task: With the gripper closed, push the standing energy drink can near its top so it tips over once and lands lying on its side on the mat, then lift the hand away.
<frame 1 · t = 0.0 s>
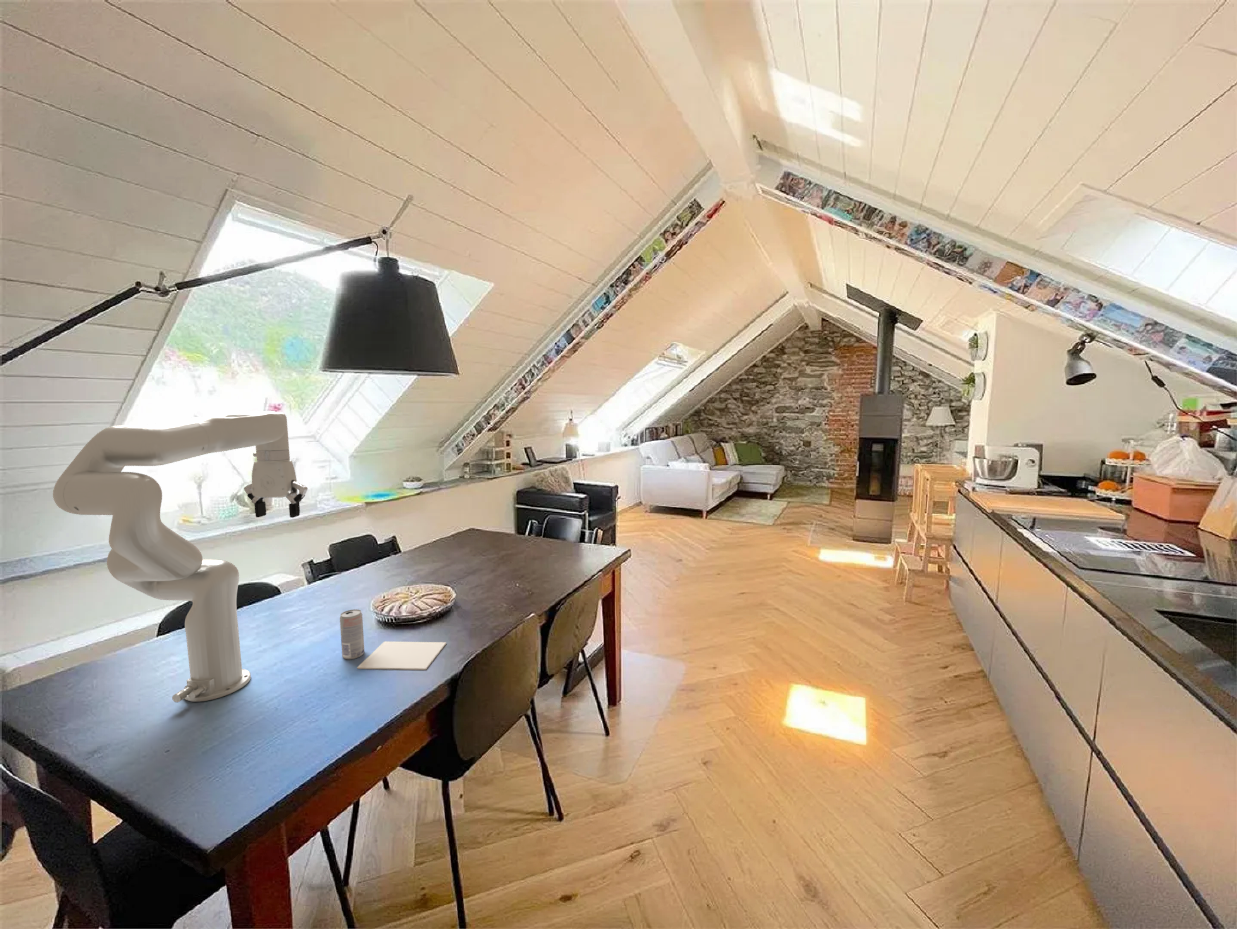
hand: (278, 516, 136), 37 cm above the table, tool pointing down, fingers open, 9 cm apart
energy drink: (353, 655, 132), on the table
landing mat: (404, 655, 132), on the table
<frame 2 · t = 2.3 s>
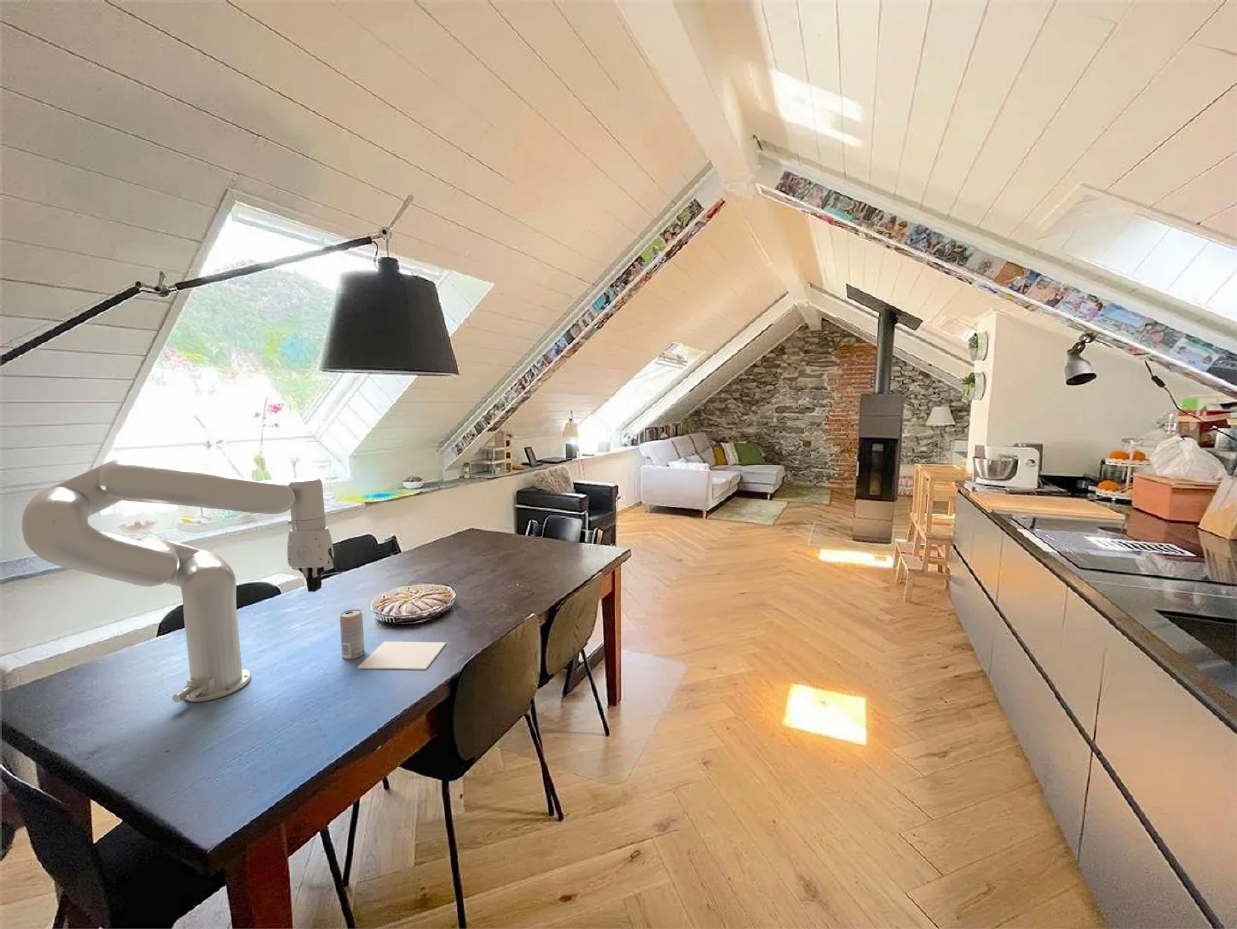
hand: (314, 589, 130), 18 cm above the table, tool pointing down, fingers closed
nothing on the table moved.
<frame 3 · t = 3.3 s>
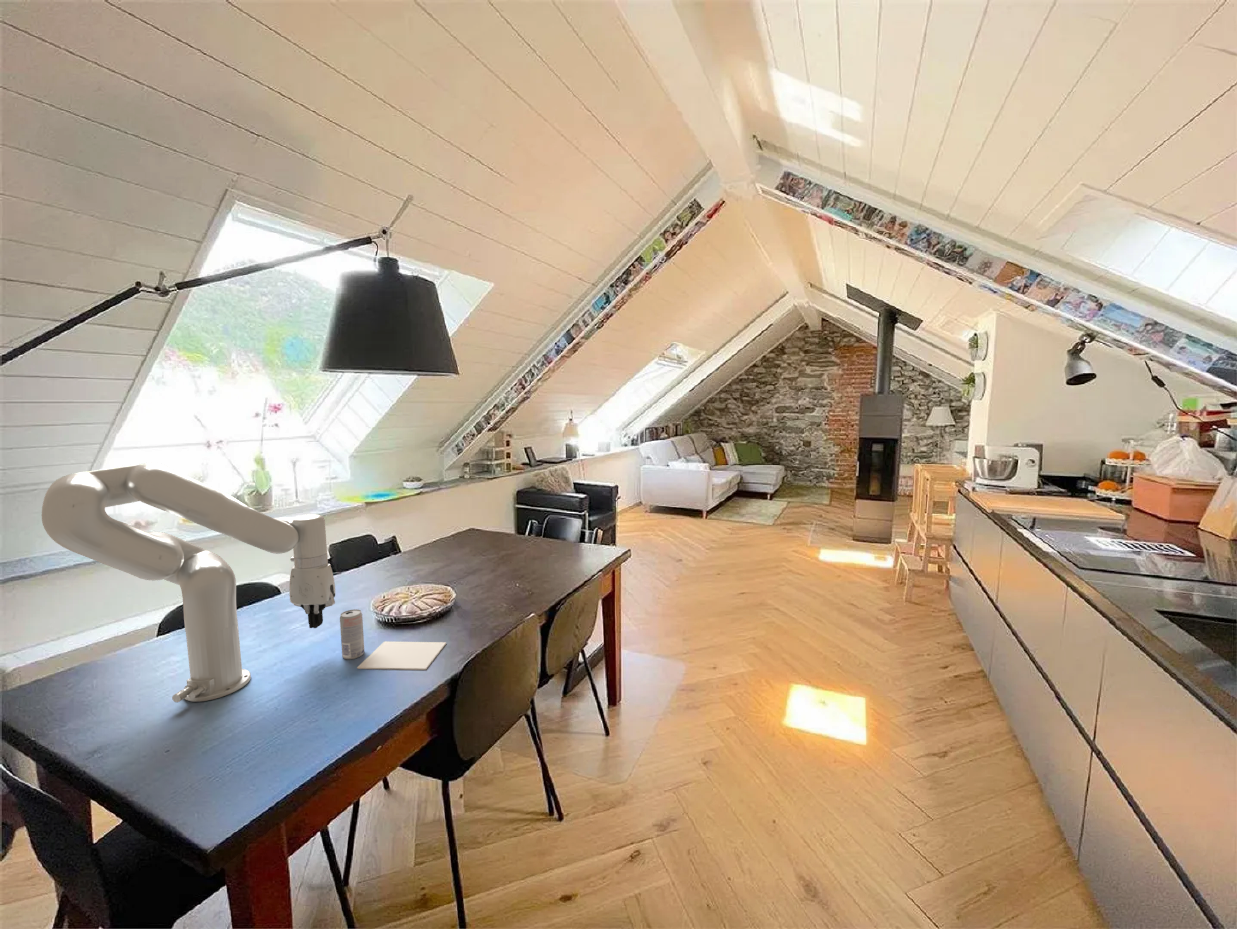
hand: (316, 625, 131), 8 cm above the table, tool pointing down, fingers closed
nothing on the table moved.
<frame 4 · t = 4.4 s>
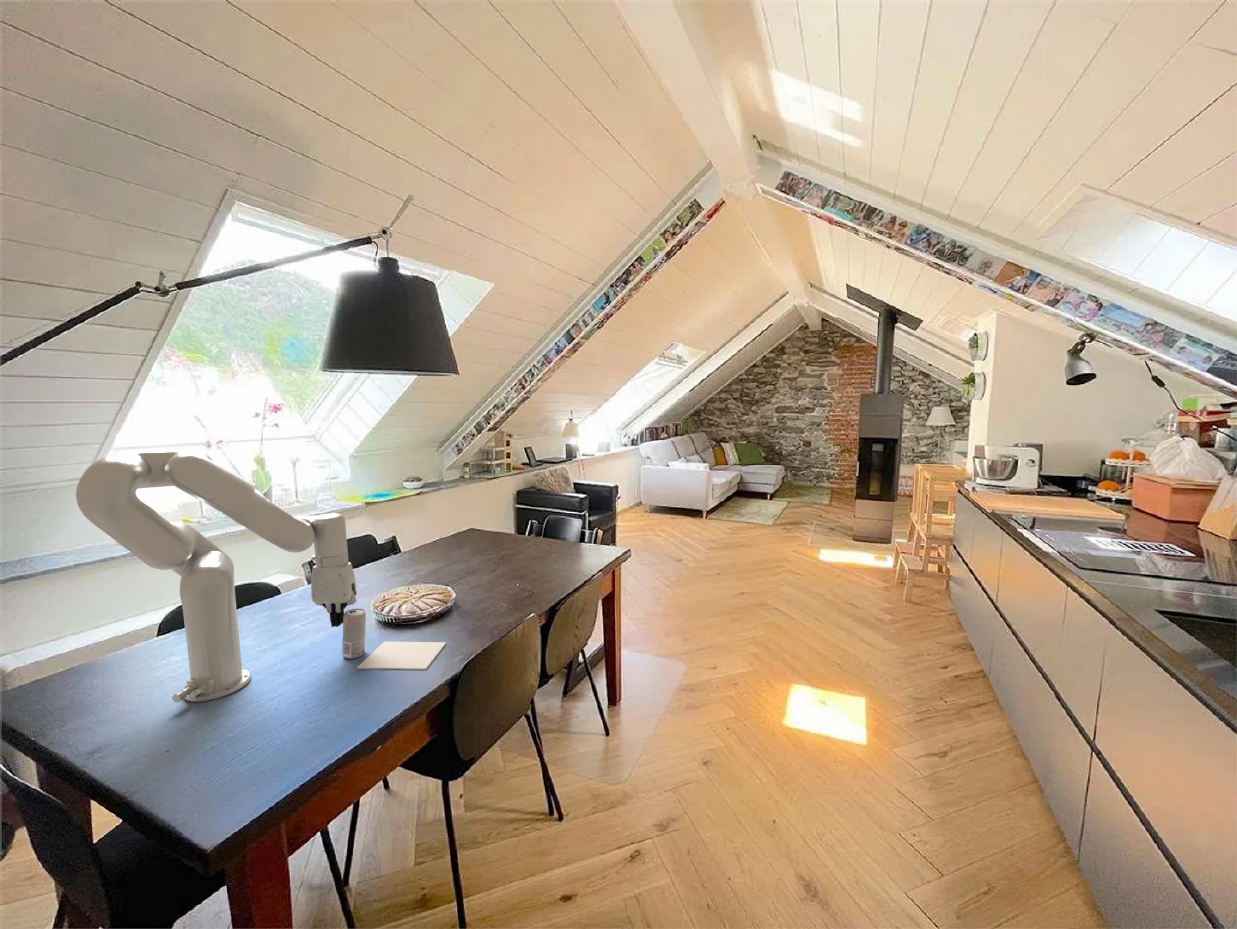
hand: (337, 624, 131), 9 cm above the table, tool pointing down, fingers closed
energy drink: (353, 654, 132), on the table, touching gripper
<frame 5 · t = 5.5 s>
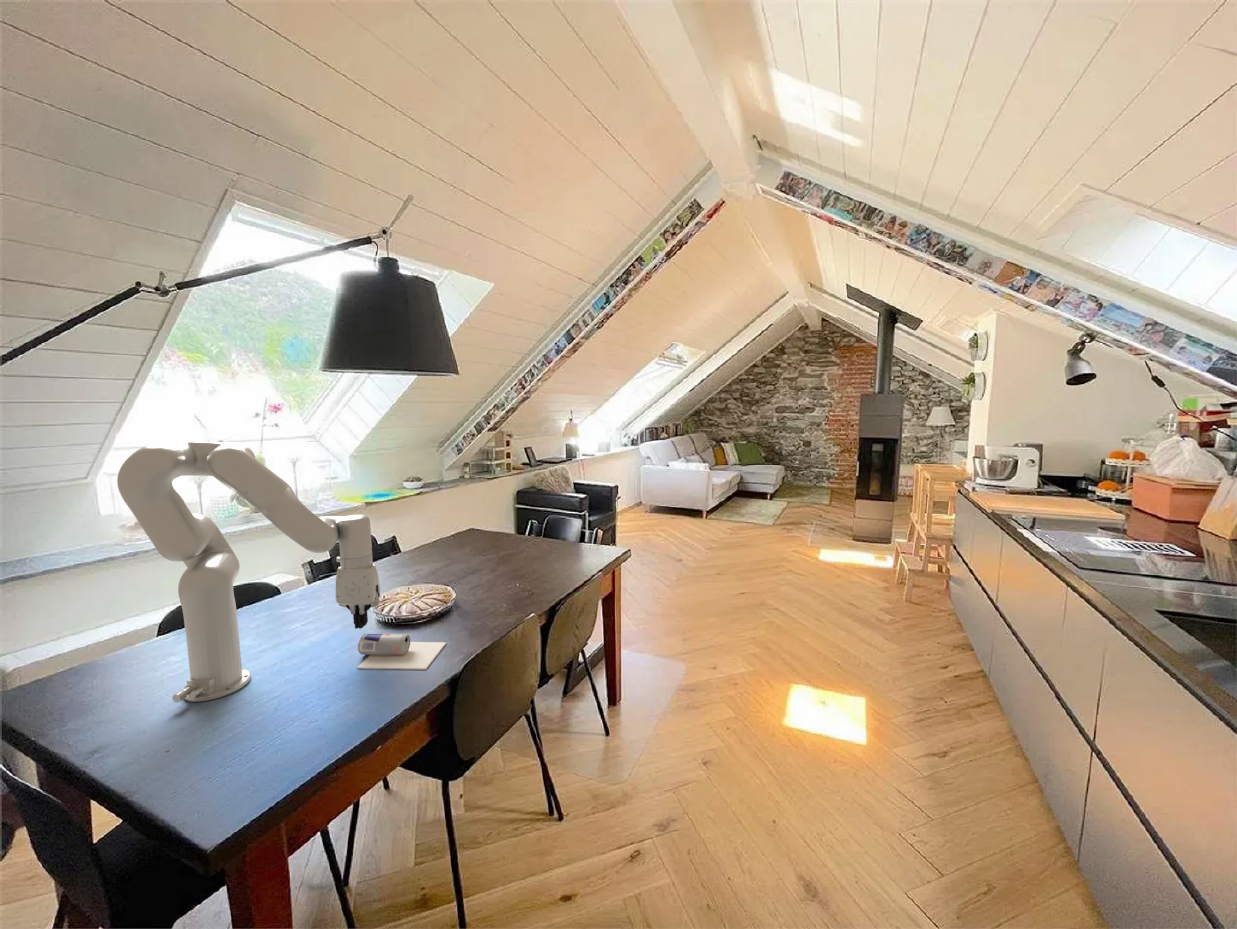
hand: (361, 626, 131), 8 cm above the table, tool pointing down, fingers closed
energy drink: (361, 644, 132), point 3 cm above the table, touching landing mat
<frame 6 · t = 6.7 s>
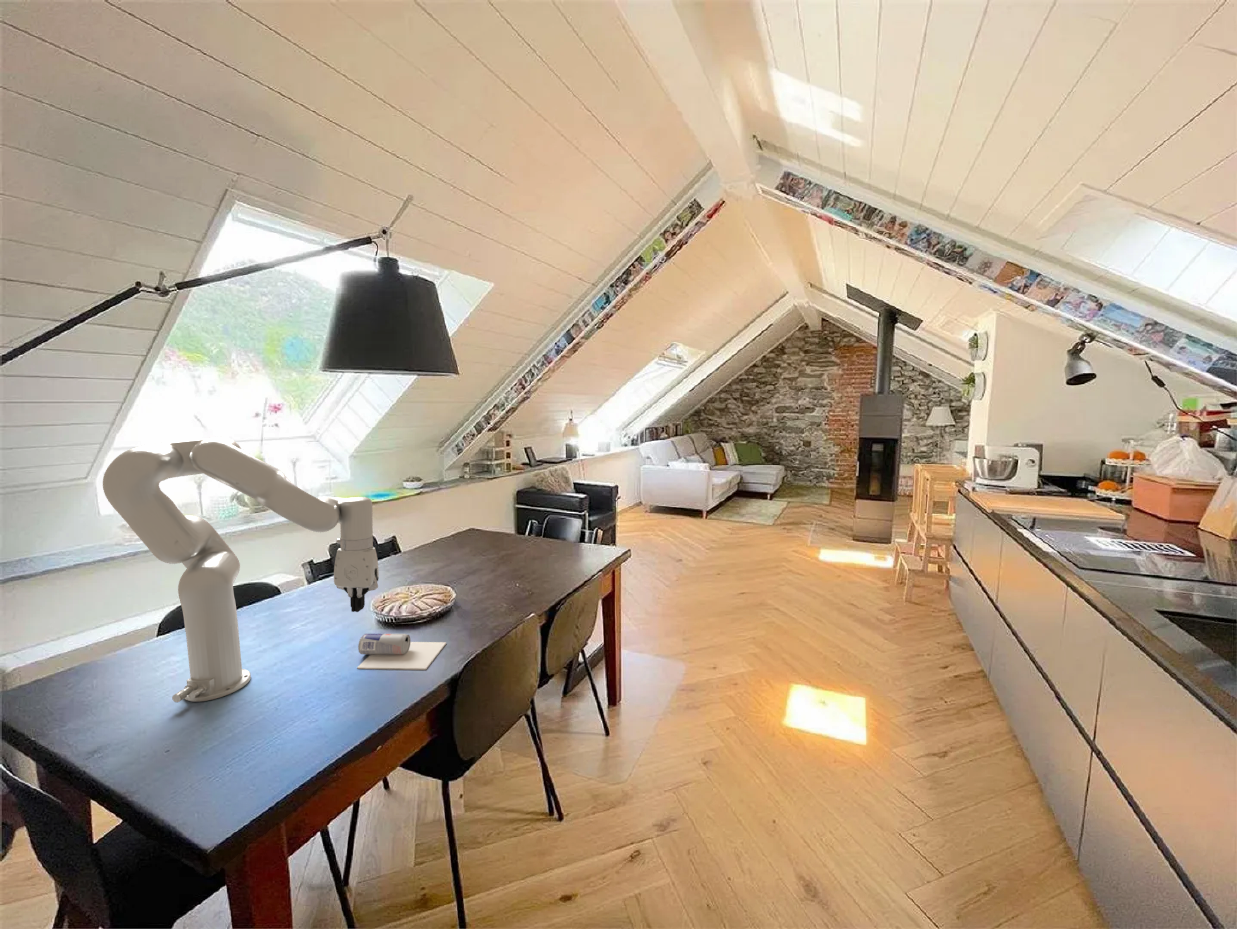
hand: (357, 609, 130), 13 cm above the table, tool pointing down, fingers closed
nothing on the table moved.
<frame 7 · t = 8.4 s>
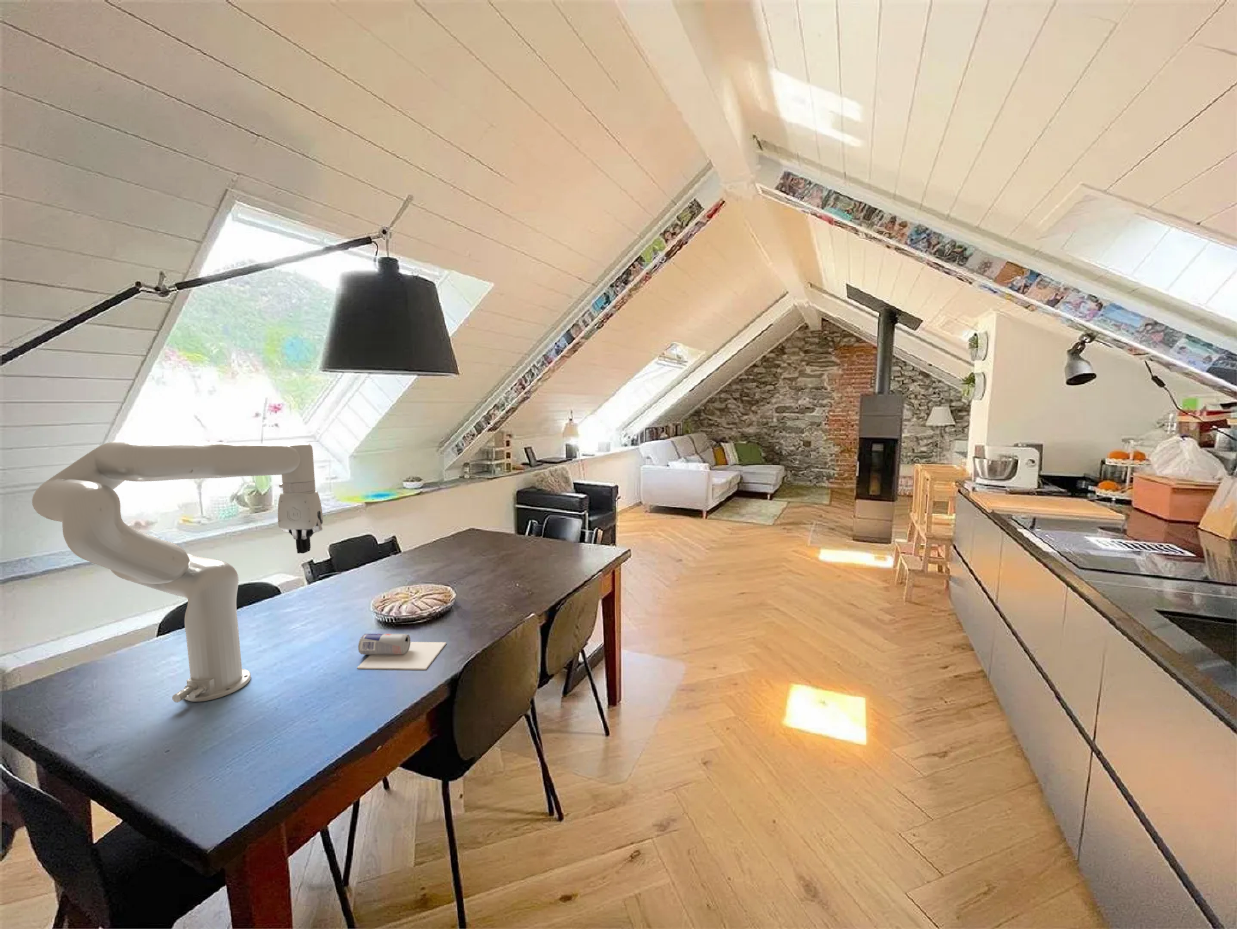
hand: (303, 551, 135), 27 cm above the table, tool pointing down, fingers closed
nothing on the table moved.
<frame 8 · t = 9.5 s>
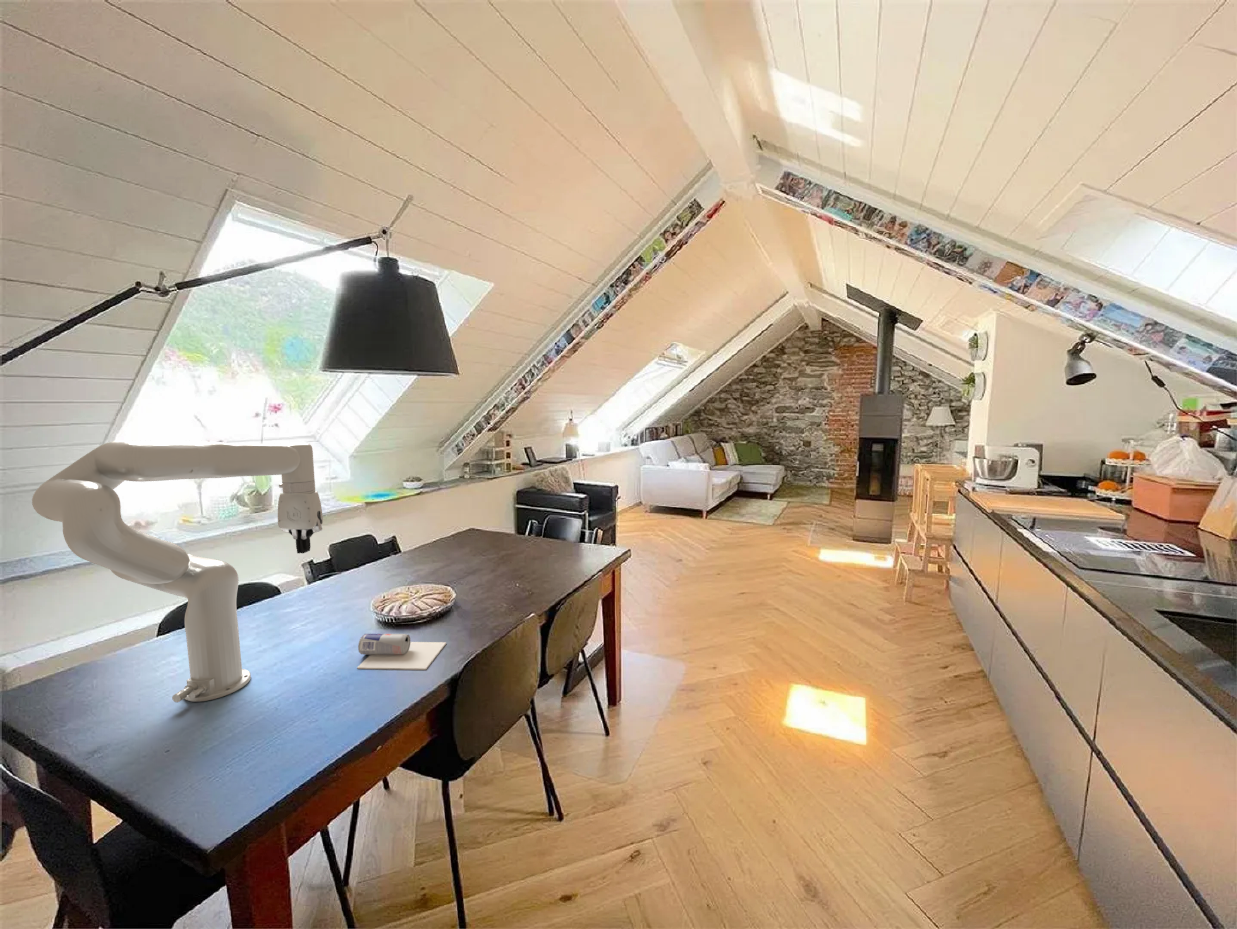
hand: (303, 551, 135), 27 cm above the table, tool pointing down, fingers closed
nothing on the table moved.
at the end: energy drink tilted 90°; energy drink touching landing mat; energy drink inside the target area (4.6 cm from its centre), point 3.0 cm above the table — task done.
